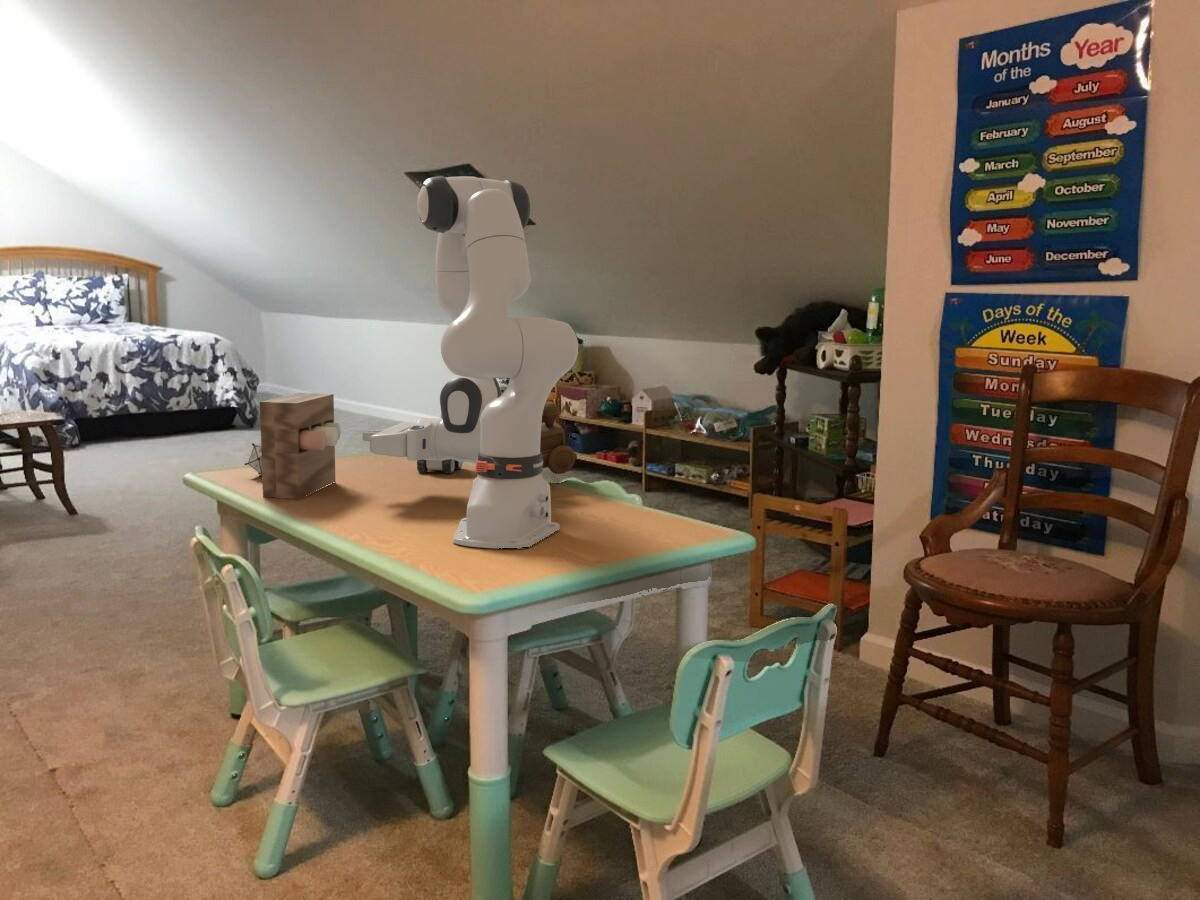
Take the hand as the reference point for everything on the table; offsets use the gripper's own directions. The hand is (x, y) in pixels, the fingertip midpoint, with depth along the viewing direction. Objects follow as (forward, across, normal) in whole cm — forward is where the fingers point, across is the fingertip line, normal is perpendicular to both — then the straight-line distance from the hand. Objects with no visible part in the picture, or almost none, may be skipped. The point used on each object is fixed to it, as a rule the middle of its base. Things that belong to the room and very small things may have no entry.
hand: (365, 435), depth 209 cm
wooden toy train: (-32, -21, +10) cm, 39 cm away
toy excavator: (-8, -31, +13) cm, 35 cm away
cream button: (+10, 0, +3) cm, 10 cm away
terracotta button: (+10, +6, +3) cm, 12 cm away
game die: (+28, -12, +13) cm, 34 cm away
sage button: (+12, -6, +3) cm, 13 cm away
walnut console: (+15, 0, +13) cm, 19 cm away
